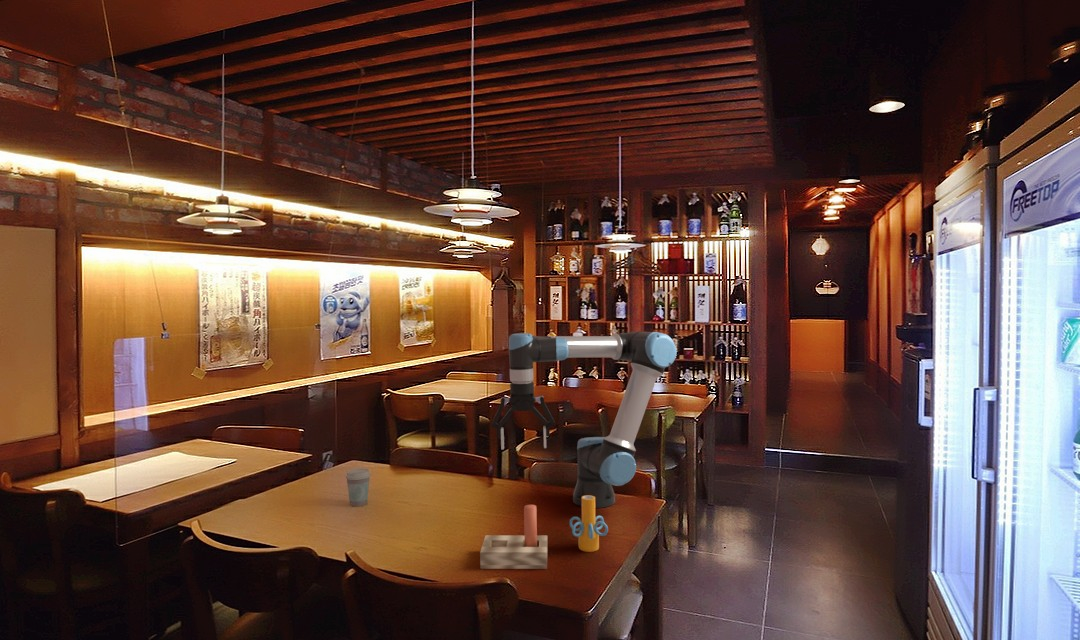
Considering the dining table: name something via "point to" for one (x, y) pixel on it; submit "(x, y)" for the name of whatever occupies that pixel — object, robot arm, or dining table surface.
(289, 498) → the dining table surface
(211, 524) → the dining table surface
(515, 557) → the socket block
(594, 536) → the cylinder
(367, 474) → the coffee cup
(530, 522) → the dowel
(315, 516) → the dining table surface
